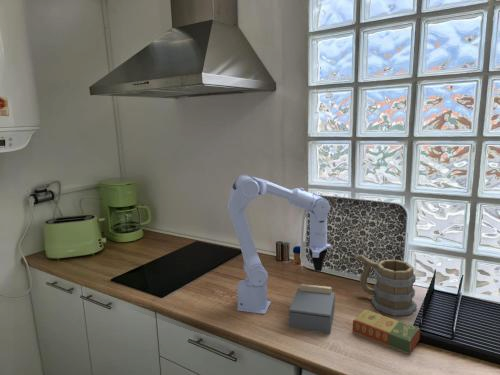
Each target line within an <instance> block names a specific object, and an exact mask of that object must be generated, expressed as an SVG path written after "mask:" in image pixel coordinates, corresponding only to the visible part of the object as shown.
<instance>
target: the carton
mask: <svg viewBox="0 0 500 375" xmlns="http://www.w3.org/2000/svg"><path fill="white" fill-rule="evenodd" d="M352 333H355V334H357V335H360V336H361V337H365V338H367V339H369V340H372V341H375V342H377V343H380V344H382V345H385V346H387V347H390V348H392V349H395V350H398V351H400V352H402V353H405V354H406V355H411V354H412V352H413V351H414V349H415V347H416V345H417V344H418V342H419V341H420V339H421V338H420V337H421V329H420V327H418V326H414V325H412V324H409V323H406V322H403V321H400V320H398V319H395V318H391V317H388V316H385V315H382V314H380V313H377V312H374V311H371V310H368V309H364V310H362V311H361V312H359V314H358V315H357V316H356V317H355V318H354V319H353V320H352Z"/></svg>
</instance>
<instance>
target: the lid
mask: <svg viewBox="0 0 500 375" xmlns="http://www.w3.org/2000/svg"><path fill="white" fill-rule="evenodd" d="M332 290H333V289H332V286H326V285H316V284H315V285H313V284H306V283H300V285H299V287H298V288H297V289H296V291H295V293H294V296H293V299H292V301H291V304H290V306H289V309H288V312H289V311H291V312H298V313H306V314H313V315H321V316H328V317H331V312H332V306H333V301H334V295H335V293H336V292H333V291H332ZM335 296H336V295H335Z"/></svg>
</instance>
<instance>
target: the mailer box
mask: <svg viewBox="0 0 500 375" xmlns="http://www.w3.org/2000/svg"><path fill="white" fill-rule="evenodd" d="M335 298H336V295H334V301H333V306H332V312H331V317H328V316H321V315H313V314H306V313H298V312H291V311H289V310H288V312H289V313H288V315H289V317H288V319H289V320H288V325H289V328H291V329H296V330H302V331H303V330H304V331H309V332H316V333H323V334H329V335H330V334H331V333H332V332H331V331H332V326H333V320H334V315H335V305H336V304H335V303H336V302H335V301H336V300H335Z"/></svg>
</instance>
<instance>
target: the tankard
mask: <svg viewBox="0 0 500 375" xmlns="http://www.w3.org/2000/svg"><path fill="white" fill-rule="evenodd" d="M354 260H355V261H356V262H359V261H361V262H362V263H363V270H362V273H361V275H360V277H359V279H360V280H359V282H360V286H361V289H362V290H363V292H365V293H367V294H369V295H372V297H371V303H372V304H373V305H374V308H375V309H376V310H378V311H379V312H382V313H384V314H388V315H390V316H393V317H394V316H396V317H397V316H411V314H413V313H414V312H415V311H416V310H417V303H416V302H415V301H414V300H413V298H414V297H415V294H416V290H415V288H414V283H416V278H417V277H416V274H415V273H414V268H415V267H413V266H412V265H411V264H410V263H409V262H406V261H403V260H398V259H383V260H380V262H376V261H372V260H370V259H369V258H367V257H366V256H365V255H363V254H362V253H361V254H358V255H356V256H354ZM371 268H374V269H375V270H374V277H375V279H376V283H374V286H373V287H374V288H372V287H370V286H369V284H368V279H369V276H370V273H371Z"/></svg>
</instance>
